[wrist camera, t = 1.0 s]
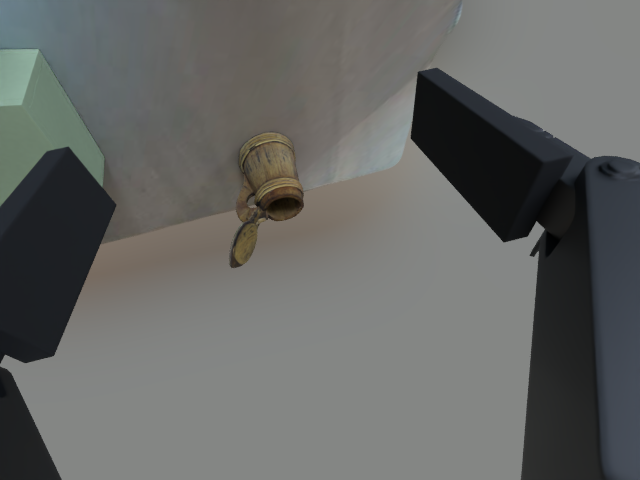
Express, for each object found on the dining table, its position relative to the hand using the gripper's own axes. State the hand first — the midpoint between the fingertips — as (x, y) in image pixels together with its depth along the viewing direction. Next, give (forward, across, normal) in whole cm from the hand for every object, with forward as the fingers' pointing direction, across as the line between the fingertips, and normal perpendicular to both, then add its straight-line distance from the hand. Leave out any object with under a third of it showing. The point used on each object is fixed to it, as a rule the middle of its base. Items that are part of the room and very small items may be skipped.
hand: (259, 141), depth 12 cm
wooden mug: (+33, -4, -19) cm, 38 cm away
